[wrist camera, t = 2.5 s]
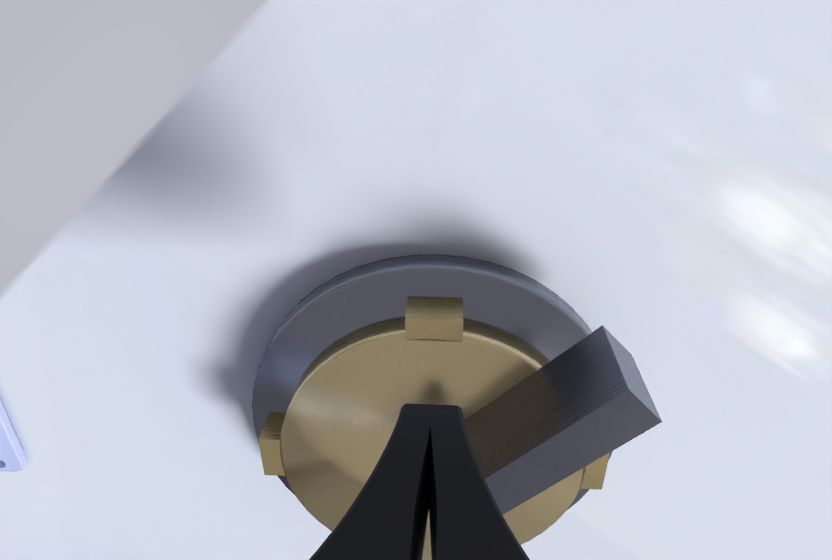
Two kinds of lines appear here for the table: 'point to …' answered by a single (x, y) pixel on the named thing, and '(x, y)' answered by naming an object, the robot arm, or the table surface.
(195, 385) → the table surface
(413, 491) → the robot arm
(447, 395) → the tabbed brass dial
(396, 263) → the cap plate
